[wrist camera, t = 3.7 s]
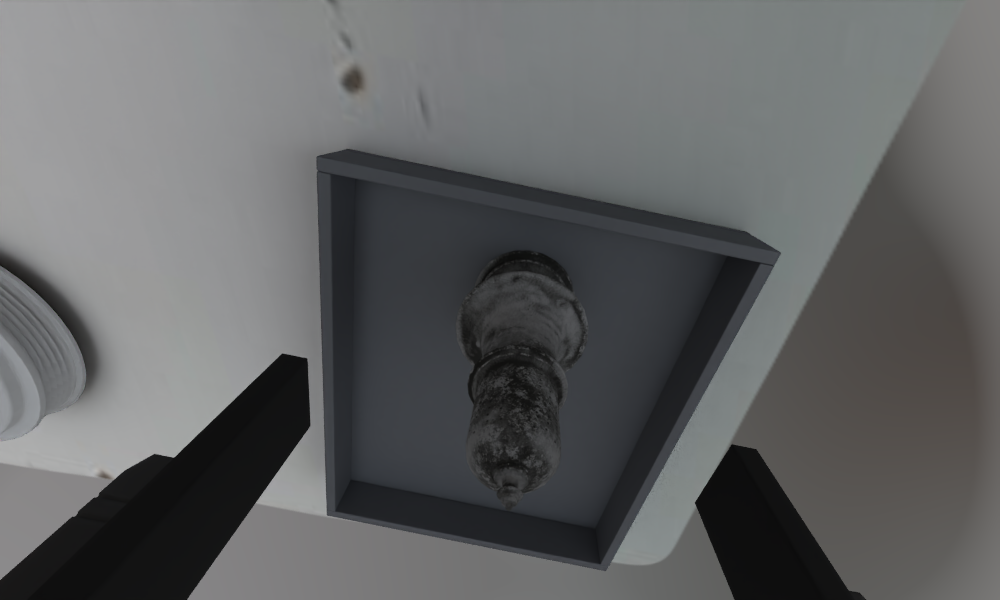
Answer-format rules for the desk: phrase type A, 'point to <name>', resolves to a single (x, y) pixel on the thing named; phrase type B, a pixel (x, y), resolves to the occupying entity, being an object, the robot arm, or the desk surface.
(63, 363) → the grey pulley wheel
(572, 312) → the chess piece
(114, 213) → the desk surface
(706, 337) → the tray
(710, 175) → the desk surface
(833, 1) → the desk surface
